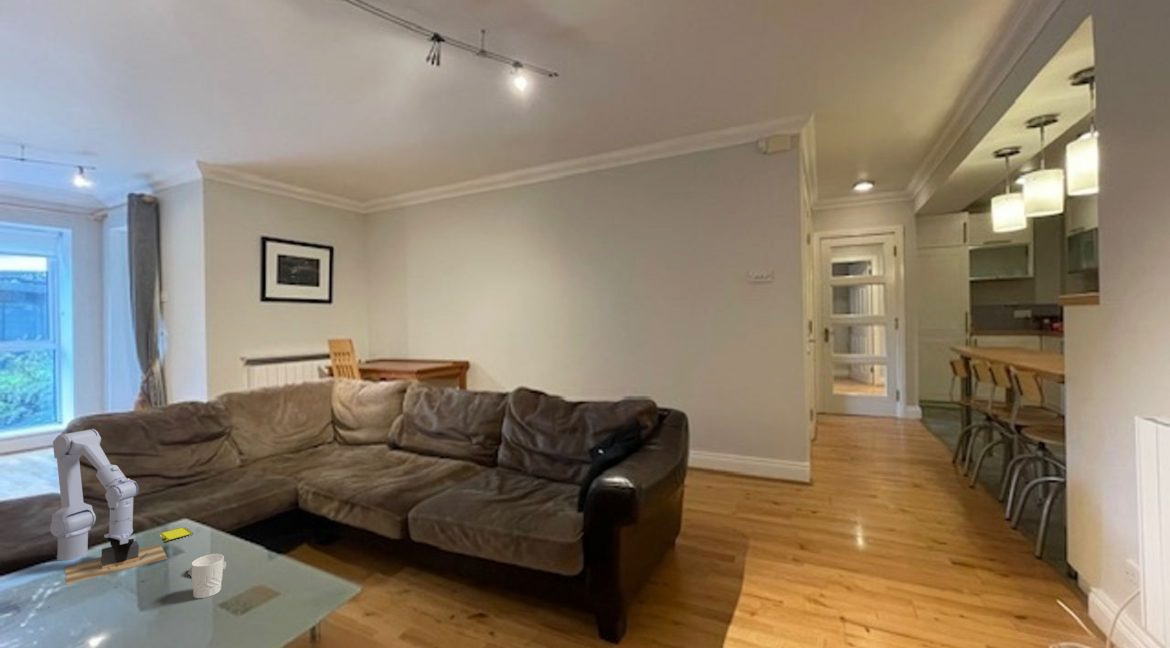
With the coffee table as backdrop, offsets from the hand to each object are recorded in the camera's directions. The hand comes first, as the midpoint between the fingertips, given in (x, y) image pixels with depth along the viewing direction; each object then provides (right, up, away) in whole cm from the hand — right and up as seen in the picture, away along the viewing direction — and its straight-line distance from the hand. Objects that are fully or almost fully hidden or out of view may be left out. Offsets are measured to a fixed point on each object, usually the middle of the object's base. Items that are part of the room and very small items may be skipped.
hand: (120, 558), depth 165 cm
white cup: (+41, -3, -15) cm, 44 cm away
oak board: (0, -2, 0) cm, 2 cm away
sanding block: (0, -1, 0) cm, 1 cm away
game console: (-4, -3, +21) cm, 21 cm away
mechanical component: (+31, -3, -2) cm, 32 cm away
